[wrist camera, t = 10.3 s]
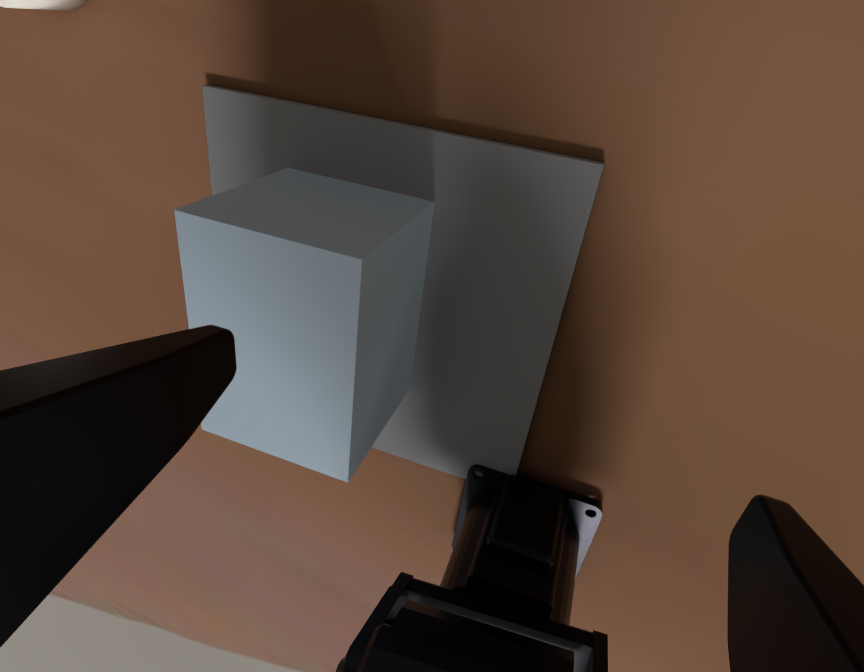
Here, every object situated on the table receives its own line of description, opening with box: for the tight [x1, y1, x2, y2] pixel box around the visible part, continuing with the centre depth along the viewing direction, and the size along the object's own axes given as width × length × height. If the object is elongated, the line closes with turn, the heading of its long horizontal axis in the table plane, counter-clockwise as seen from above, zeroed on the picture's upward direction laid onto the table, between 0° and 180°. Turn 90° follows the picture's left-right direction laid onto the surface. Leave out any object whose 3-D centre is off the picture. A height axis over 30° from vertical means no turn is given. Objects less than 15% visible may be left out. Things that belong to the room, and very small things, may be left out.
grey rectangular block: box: [174, 168, 435, 482], centre depth 21 cm, size 9×6×6 cm
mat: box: [202, 85, 604, 480], centre depth 24 cm, size 16×16×1 cm
